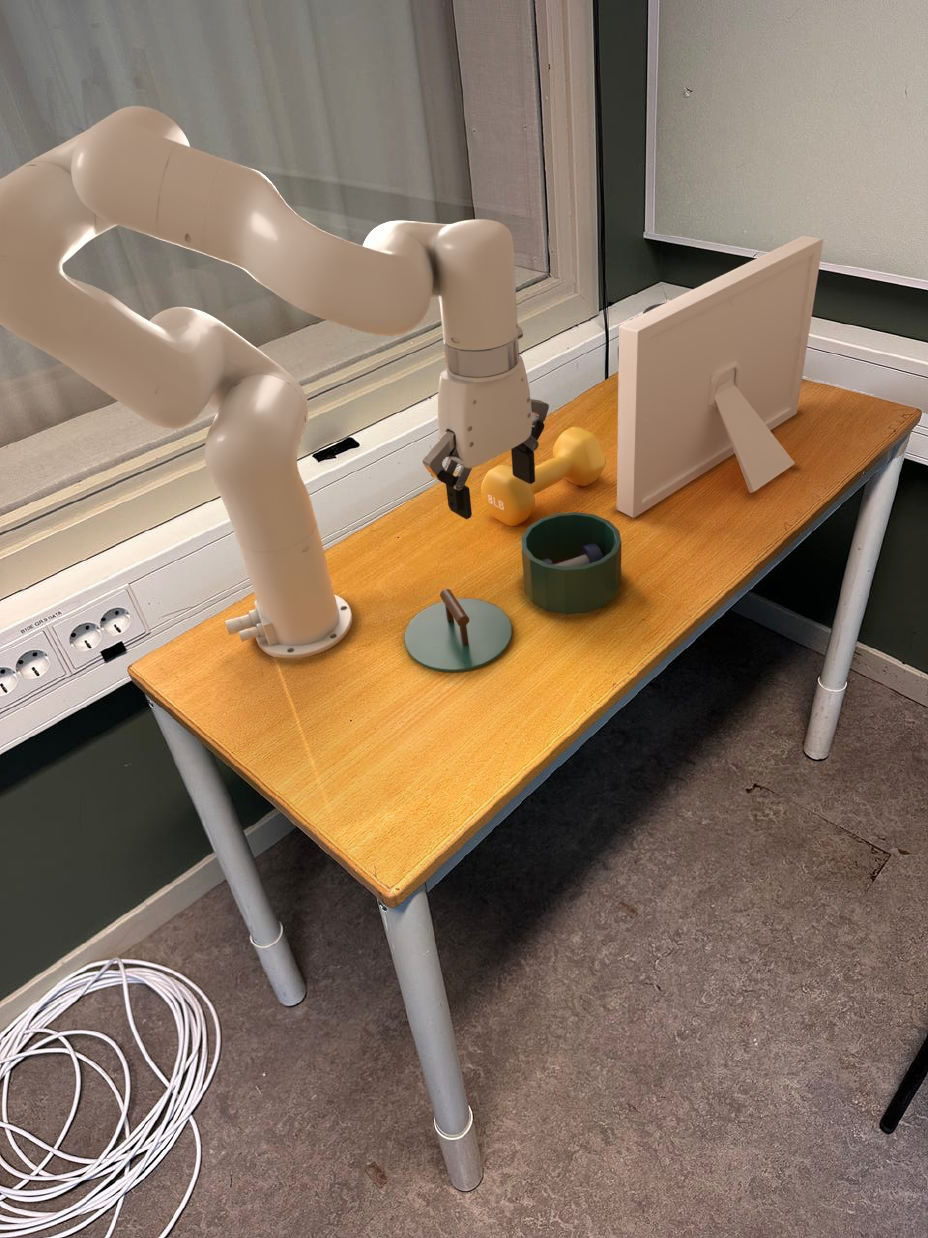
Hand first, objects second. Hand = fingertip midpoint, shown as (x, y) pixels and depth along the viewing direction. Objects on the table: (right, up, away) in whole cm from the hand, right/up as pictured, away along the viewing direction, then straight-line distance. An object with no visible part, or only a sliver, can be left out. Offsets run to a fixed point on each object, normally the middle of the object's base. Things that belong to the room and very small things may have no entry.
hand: (493, 496), depth 101 cm
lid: (-4, -16, +9) cm, 19 cm away
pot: (+11, -10, +15) cm, 21 cm away
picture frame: (+38, +8, +33) cm, 51 cm away
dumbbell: (+9, +4, +32) cm, 33 cm away
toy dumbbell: (+11, -9, +15) cm, 20 cm away
